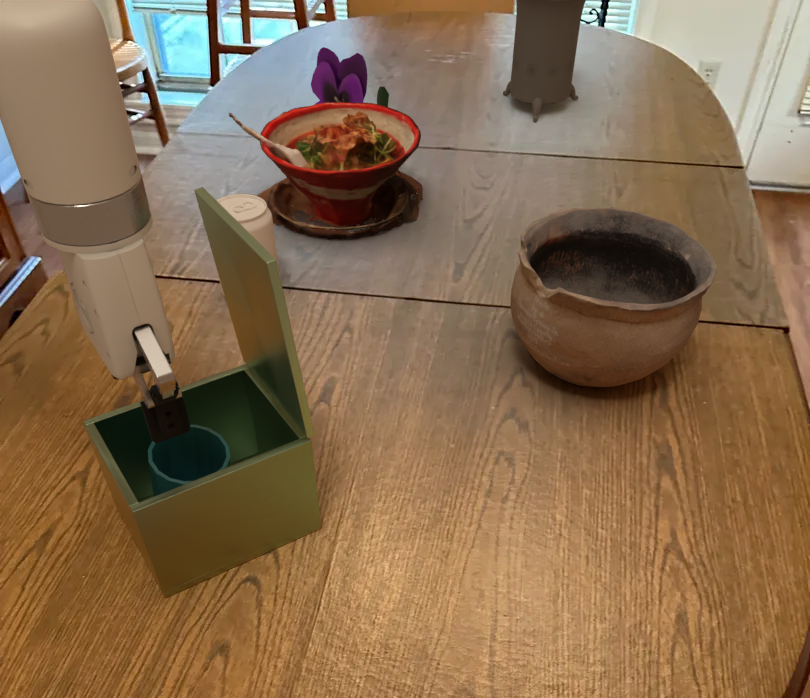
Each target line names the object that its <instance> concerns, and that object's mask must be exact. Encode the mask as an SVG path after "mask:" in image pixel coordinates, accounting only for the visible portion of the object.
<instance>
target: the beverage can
mask: <svg viewBox="0 0 810 698" xmlns="http://www.w3.org/2000/svg"><path fill="white" fill-rule="evenodd" d="M215 200H216V201H217V202H218V203H219V204H220V205H221V206H222V207H223V208H225V209H226V210H227V211H228V212H229V213H230V214H231V215H232V216H233V217H234V218H235V219H236V220H237V221H238V222H239V223H240V224H241V225H242V226H243V227H244V228H245V229H246V230H247V231H248V232H249V233H250V234H251V235H252V236H253V237H254V238H255V239H256V240H257V241H258V242H259V243H260V244H261V245H262V246H263V247H264V248H265V249H266V250H267V251H268V252H269V253H270V254H271V255H272V256H273V257H274V258H275V259H276V261H277V265H278V270H279V271H280V268H279V259H278V258H279V257H278V250H277V243H276V236H275V235H276V234H275V227H274V223H273V219H272V214H271V211H270V210H269V208H268V207H267V204H266V202H265V201H264V200H263V199H262V198H260V197H258V196H257V195H254V194H248V193H236V194H230V195H226V196H222V197H220V198H218V199H215ZM217 275H218V280H219V285H220V291H221V294H222V296H223V297H224V298H225V295H224V292H223V288H222V285H221V281H220V278H219V274H218V273H217Z"/></svg>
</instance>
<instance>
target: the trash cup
mask: <svg viewBox="0 0 810 698" xmlns="http://www.w3.org/2000/svg"><path fill="white" fill-rule="evenodd" d="M190 427H191V429H190V431H189V432H187V433H184V434H182V435H179V436H176V437H173V438H171V439H168V440H165V441H163V442H160V443H154V442H153V441H152V443H151V445H150V447H149V449H148V461H149V468H150V475H151V482H152V489H153V496H157V495H159V494H162V493H165V492H167V491H170V490H172V489H175V488H177V487H180V486H182V485H185V484H187V483H190V482H192V481H195V480H197V479H200V478H202V477H205V476H207V475H210V474H212V473H215V472H217V471H220V470H222V469H225V468H227V467H230V450H229V445H228V444H227V442H226V441H225V440H224V438H223V437H222V436H221V435H220V434H218V433H217V432H215V431H214V430H212V429H210V428H207V427H203V426H199V425H190Z"/></svg>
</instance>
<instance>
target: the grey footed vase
mask: <svg viewBox="0 0 810 698" xmlns="http://www.w3.org/2000/svg"><path fill="white" fill-rule="evenodd" d="M586 1H587V0H515V3H516V6H515V7H516V11H515V12H516V17H515V28H514V39H513V40H514V41H513V49H512V51H513V52H512V63H511V71H510V81H509V82H508V83H507V85H506V88H505V90H503V91H502V95H503V96H509V95H511V97H512V98H514V99H516V100H517V101H520V102H523V103H528V104H531V107H532V109H531V110H532V121H533V122H534V123H536V122H538V119H539V115H540V113H541V110H542V108H543V105H553V104H559V103H562V102H565V100H567V99H569V97H570V99H571V100H572V101H577V100H578V99H579V96H578V94H576V88H575V86H574V84H573V83H572V82H573V77H574V69H575V62H576V55H577V50H578V49H577V48H578V42H579V41H578V40H579V35H580V26H581V20H582V15H583V11H584V7H585V5H586Z"/></svg>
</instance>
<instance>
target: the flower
mask: <svg viewBox="0 0 810 698" xmlns="http://www.w3.org/2000/svg"><path fill="white" fill-rule="evenodd" d="M367 67H368V66H367V63H366V60H365V57H364V56H363V55H362V54H360V53H359V52H356V53H355V54H353V55H351V56H350V57H346V58H343V59H342V60H341V61H340V58H339V56H338V54H336V53H335V52H334V51H333V50H331V49H329V48H328V47H321V48H320V49H319V51H318V53H317V57H316V66H315V68H314V71H313V74H312V75H311V80H310V81H311V82H310V87H311V90H312V93H313V94H314V96H315V97H317V99H318V101H317V102H315V103H314V104H320V103H326V102H330V103H333V102H334V103H337V102H345V103H365V102H364V101H365V99H366V95H367V89H368V68H367ZM389 99H390V94H389V92H388V90H387V88H386V87H385V86H379V87H378V90H377V95H376V104H378V105H383V106H386V107H389Z"/></svg>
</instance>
